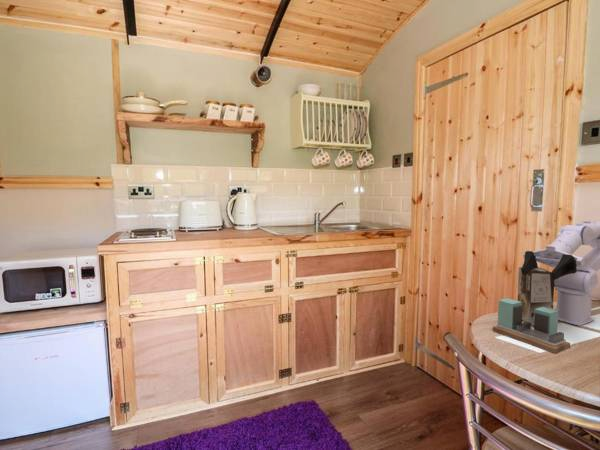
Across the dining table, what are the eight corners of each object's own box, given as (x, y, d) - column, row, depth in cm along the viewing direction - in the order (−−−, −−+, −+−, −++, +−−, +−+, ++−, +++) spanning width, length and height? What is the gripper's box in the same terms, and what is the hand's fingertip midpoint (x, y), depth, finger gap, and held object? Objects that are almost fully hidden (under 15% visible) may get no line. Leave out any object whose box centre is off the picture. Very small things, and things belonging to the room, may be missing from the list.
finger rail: (507, 326, 101) (508, 296, 100) (569, 347, 86) (571, 313, 86) (492, 330, 97) (493, 300, 97) (555, 353, 83) (556, 318, 82)
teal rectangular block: (541, 330, 97) (542, 306, 97) (557, 335, 94) (558, 310, 93) (532, 333, 95) (533, 309, 95) (548, 338, 92) (549, 313, 91)
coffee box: (553, 327, 99) (556, 273, 98) (529, 326, 101) (531, 273, 99) (538, 316, 108) (540, 266, 107) (516, 315, 109) (518, 266, 108)
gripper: (531, 236, 104) (507, 258, 99) (588, 239, 91) (565, 265, 86) (536, 255, 106) (513, 278, 100) (593, 261, 93) (570, 288, 88)
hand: (537, 273), depth 93 cm, fingers open, 7 cm apart
